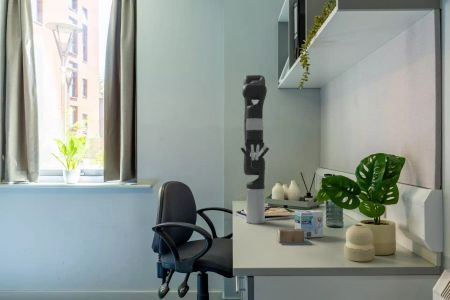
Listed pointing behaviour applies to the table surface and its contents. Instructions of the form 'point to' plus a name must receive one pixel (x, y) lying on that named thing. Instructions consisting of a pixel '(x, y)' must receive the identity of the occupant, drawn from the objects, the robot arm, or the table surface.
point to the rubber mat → (298, 243)
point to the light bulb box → (309, 222)
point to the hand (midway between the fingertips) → (254, 168)
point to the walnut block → (290, 235)
